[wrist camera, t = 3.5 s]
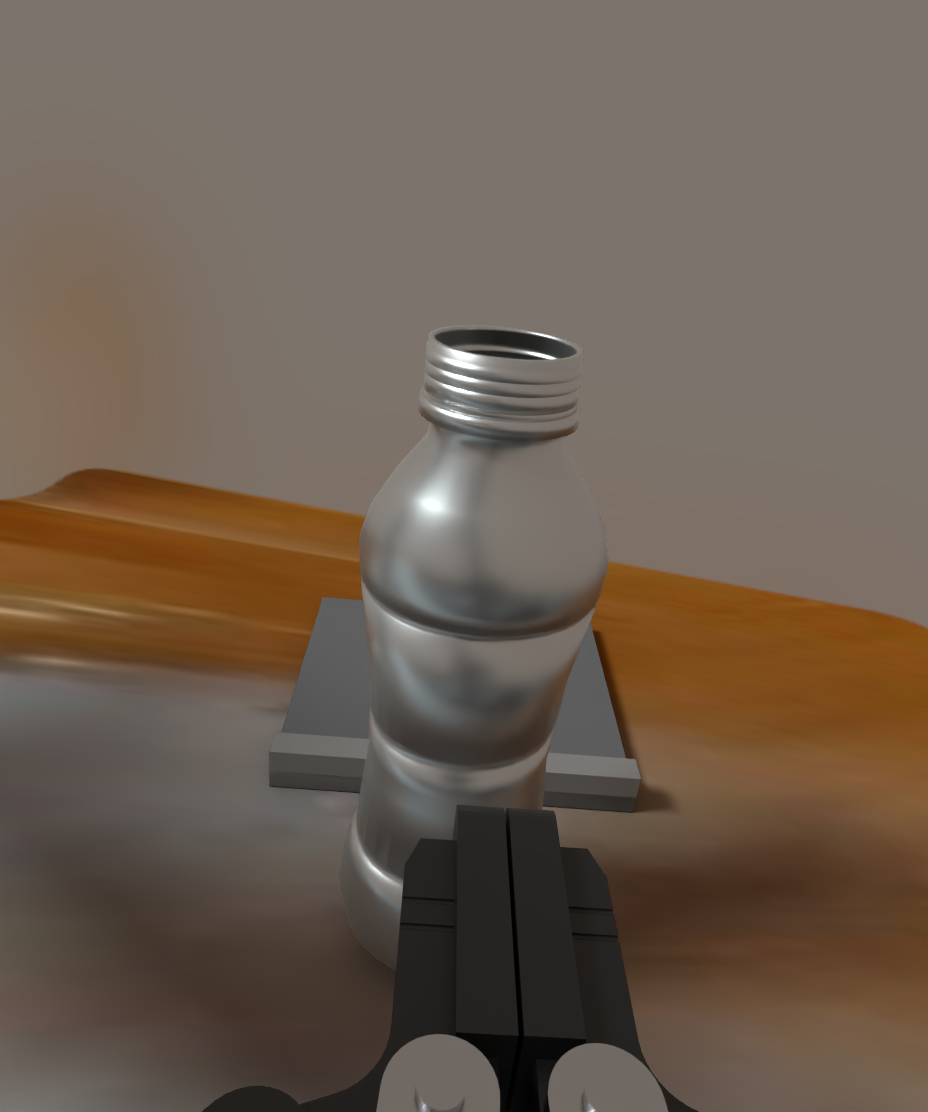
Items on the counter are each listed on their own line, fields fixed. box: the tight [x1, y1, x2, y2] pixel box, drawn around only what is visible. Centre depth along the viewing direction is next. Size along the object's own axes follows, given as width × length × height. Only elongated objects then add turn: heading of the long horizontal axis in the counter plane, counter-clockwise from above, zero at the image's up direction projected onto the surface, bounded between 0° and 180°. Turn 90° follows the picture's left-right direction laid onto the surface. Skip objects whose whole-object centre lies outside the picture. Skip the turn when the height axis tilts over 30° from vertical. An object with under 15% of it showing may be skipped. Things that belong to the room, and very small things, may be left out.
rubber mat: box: [269, 597, 641, 812], centre depth 39 cm, size 15×14×2 cm
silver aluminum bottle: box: [339, 325, 609, 971], centre depth 24 cm, size 6×7×20 cm
